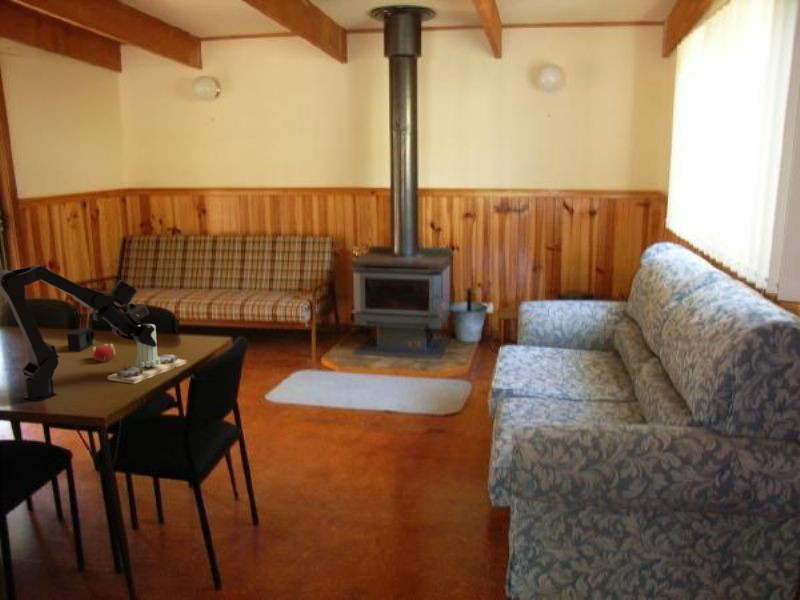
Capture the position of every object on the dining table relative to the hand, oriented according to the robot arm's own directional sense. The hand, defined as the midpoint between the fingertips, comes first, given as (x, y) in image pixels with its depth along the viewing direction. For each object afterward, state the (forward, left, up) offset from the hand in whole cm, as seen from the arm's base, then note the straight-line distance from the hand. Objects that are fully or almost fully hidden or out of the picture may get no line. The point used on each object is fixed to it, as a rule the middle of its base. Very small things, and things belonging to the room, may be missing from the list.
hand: (150, 344), depth 227 cm
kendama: (+6, +28, -10) cm, 30 cm away
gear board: (-1, 0, -9) cm, 9 cm away
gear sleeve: (-1, 0, -7) cm, 7 cm away
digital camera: (+12, +45, -9) cm, 48 cm away
